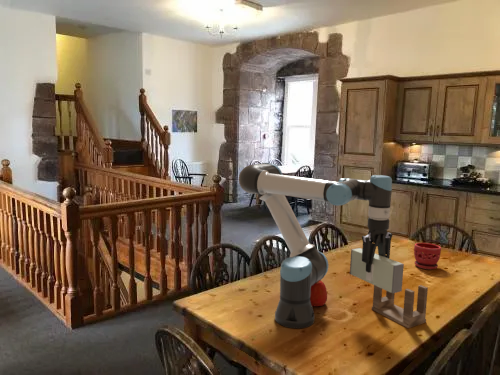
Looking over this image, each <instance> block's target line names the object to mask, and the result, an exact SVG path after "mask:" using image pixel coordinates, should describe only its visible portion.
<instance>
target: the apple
mask: <svg viewBox="0 0 500 375" xmlns="http://www.w3.org/2000/svg"><path fill="white" fill-rule="evenodd" d="M310 301H311V305H312V307H323V306H324V305H325V304H326V302H327V301H328V291H327V286H326V285H325V283H324V281H322V279H321V280H320V281H318V282H317V283H315V284H314V285H313V286H311V297H310Z"/></svg>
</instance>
